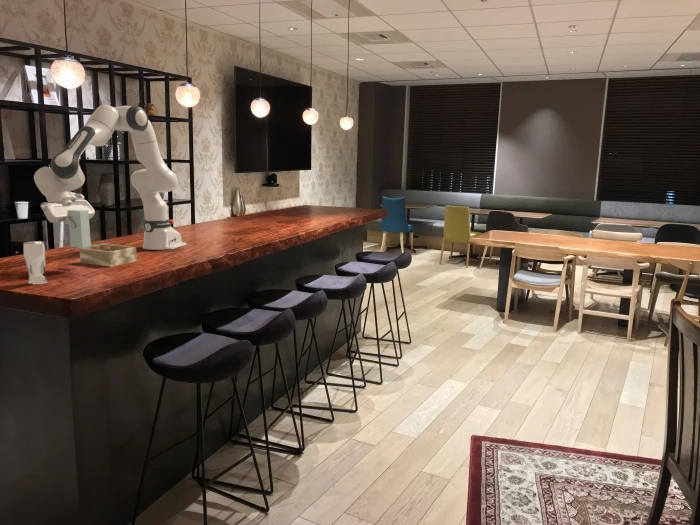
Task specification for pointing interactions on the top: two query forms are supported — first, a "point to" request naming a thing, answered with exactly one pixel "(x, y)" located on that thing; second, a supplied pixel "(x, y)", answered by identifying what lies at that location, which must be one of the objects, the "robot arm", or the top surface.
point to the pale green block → (80, 229)
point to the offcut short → (101, 247)
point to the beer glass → (35, 261)
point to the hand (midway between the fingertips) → (80, 226)
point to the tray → (109, 256)
